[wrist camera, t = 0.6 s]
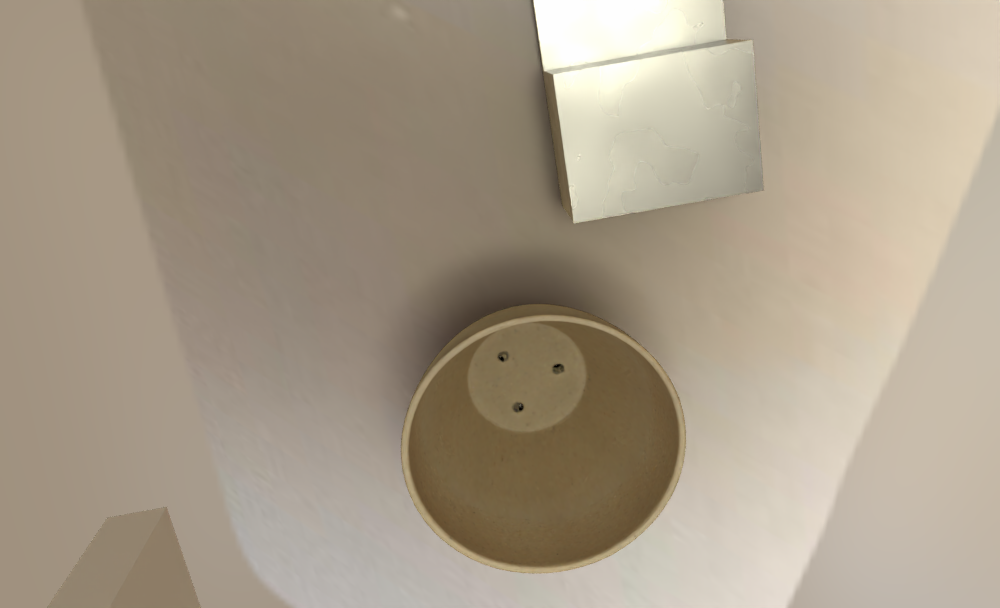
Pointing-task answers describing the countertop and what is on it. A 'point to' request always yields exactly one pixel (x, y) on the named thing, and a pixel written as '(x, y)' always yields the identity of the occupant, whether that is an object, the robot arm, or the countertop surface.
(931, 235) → the countertop surface
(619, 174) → the grey block fixture
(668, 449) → the beige planter bowl
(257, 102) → the countertop surface
